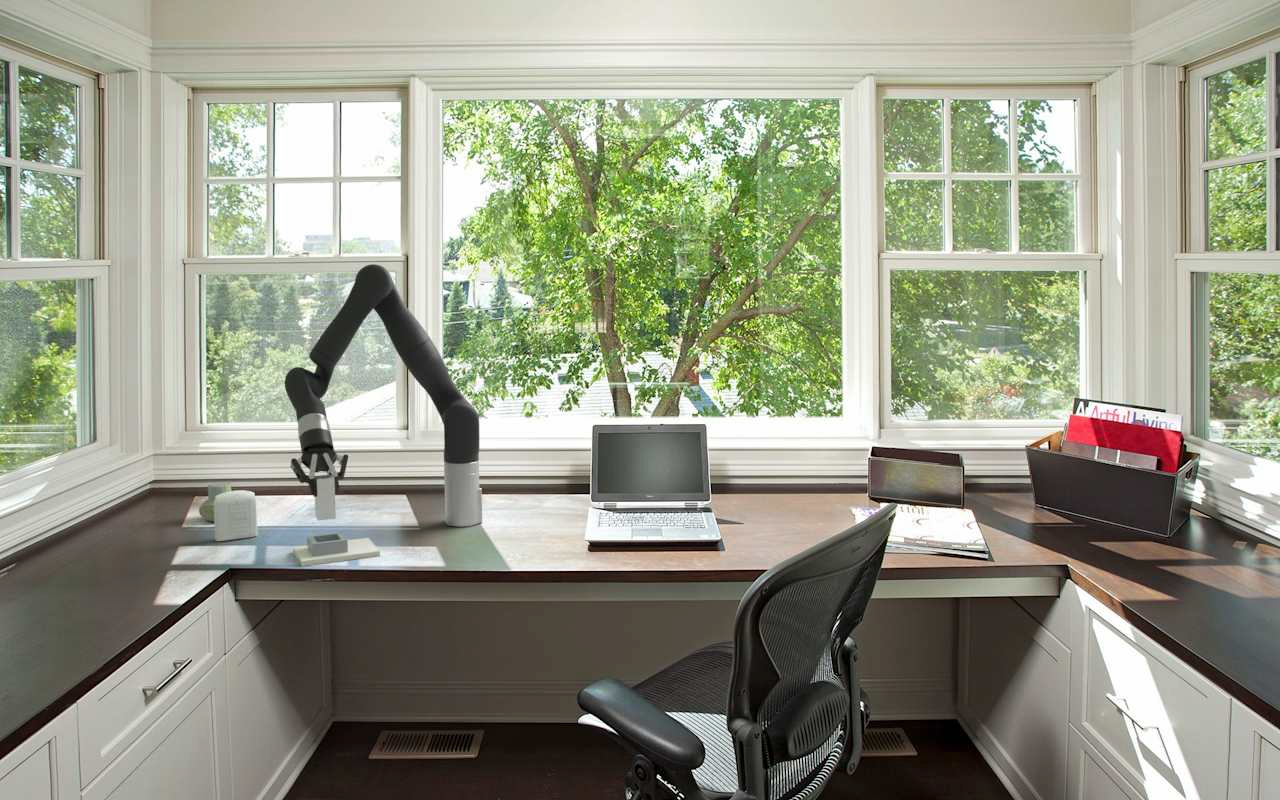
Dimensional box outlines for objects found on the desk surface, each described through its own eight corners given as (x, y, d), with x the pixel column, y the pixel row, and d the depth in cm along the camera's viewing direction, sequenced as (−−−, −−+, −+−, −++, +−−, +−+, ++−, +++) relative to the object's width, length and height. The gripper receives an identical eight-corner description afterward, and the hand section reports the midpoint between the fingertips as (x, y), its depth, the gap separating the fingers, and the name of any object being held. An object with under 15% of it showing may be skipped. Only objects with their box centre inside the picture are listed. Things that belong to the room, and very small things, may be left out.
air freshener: (194, 522, 264) (191, 486, 262) (214, 514, 272) (212, 479, 270) (228, 524, 261) (226, 488, 260) (248, 517, 269) (246, 482, 268)
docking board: (368, 542, 244) (367, 526, 244) (379, 555, 233) (379, 538, 232) (293, 551, 236) (292, 535, 235) (301, 566, 224) (300, 548, 224)
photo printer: (256, 533, 252) (253, 487, 251) (259, 537, 249) (257, 490, 247) (213, 539, 247) (211, 491, 245) (217, 543, 243) (214, 495, 242)
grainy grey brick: (332, 514, 235) (331, 474, 233) (335, 518, 231) (334, 477, 230) (315, 516, 233) (314, 476, 232) (318, 520, 229) (316, 479, 228)
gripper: (286, 429, 233) (295, 488, 224) (346, 425, 240) (358, 482, 231) (283, 447, 239) (293, 505, 230) (342, 442, 245) (354, 499, 236)
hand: (325, 493), depth 230 cm, fingers closed on grainy grey brick, 4 cm apart
